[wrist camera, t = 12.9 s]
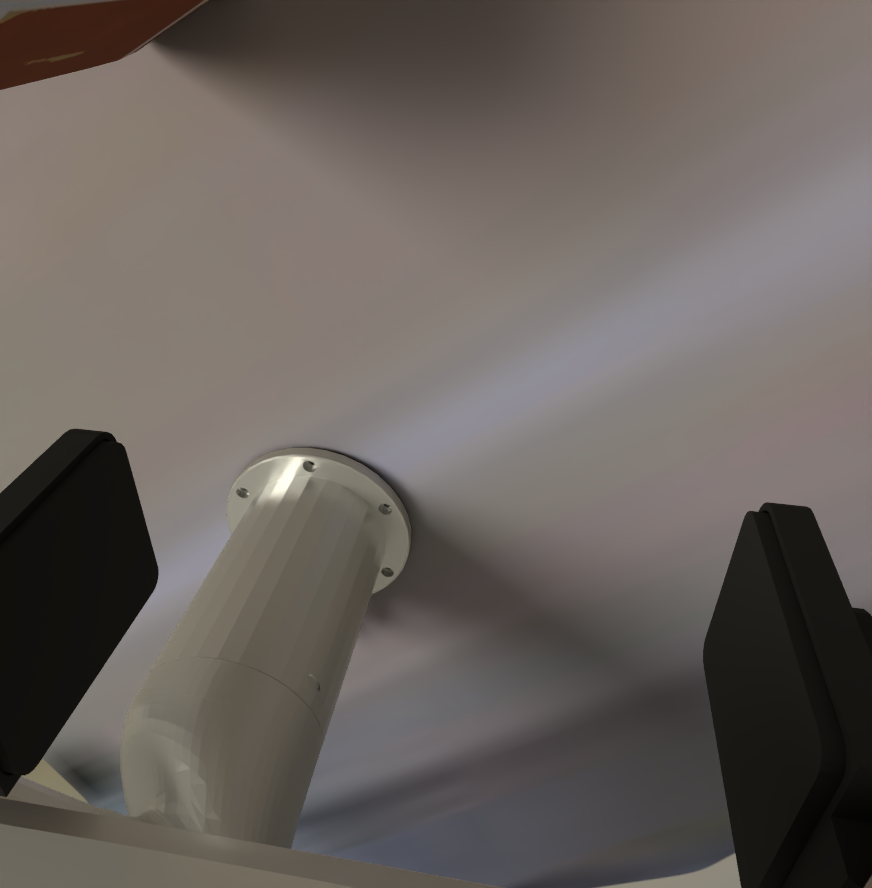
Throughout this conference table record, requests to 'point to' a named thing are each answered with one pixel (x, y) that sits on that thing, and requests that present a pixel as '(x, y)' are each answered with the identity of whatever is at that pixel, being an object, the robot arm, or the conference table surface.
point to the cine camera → (78, 33)
